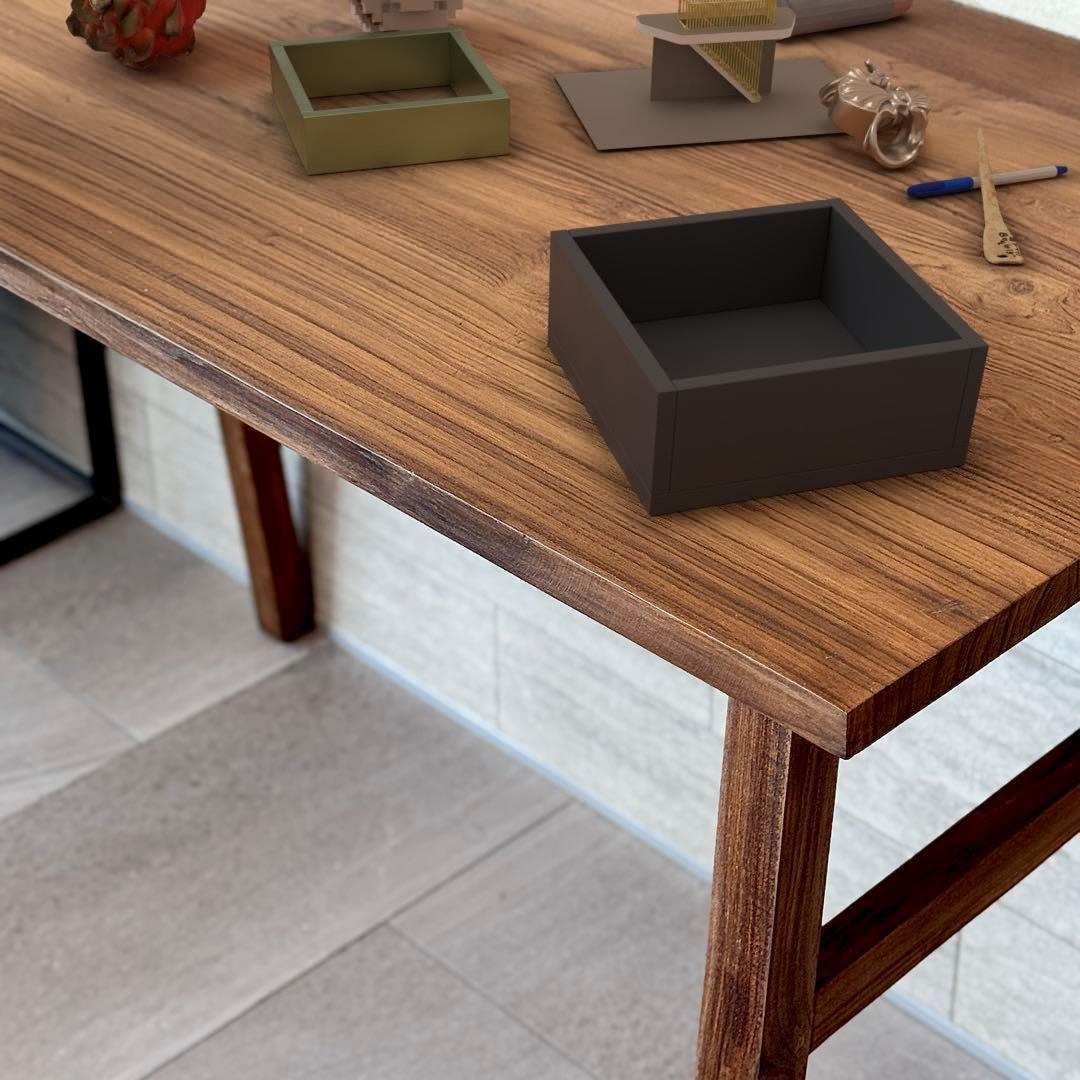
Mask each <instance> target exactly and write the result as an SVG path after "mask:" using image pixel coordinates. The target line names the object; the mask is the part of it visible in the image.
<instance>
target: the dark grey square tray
mask: <svg viewBox="0 0 1080 1080" xmlns="http://www.w3.org/2000/svg"><path fill="white" fill-rule="evenodd" d="M549 235H550V236H549V274H548V275H549V277H548V311H547V313H548V314H547V346H548V347H549V349H550V351H551V352H552V354H553V357H554V358H555V360H556V361H557V363H558V365H559V366H560V368H561V370H562V371H563V373H564V375H565V376H566V378H567V380H568V381H569V383H570V385H571V386H572V388H573V389H574V391H575V393H576V395H577V396H578V398H579V399H580V400H579V401H581V404H582V405H583V407H584V408H585V410H586V411H587V413H588V415H589V417H590V418H591V420H592V421H593V423H594V425H595V427H596V428H597V430H598V432H599V434H600V435H601V436H602V438H603V440H604V441H605V443H606V445H607V447H608V449H609V450H610V452H611V454H612V456H613V457H614V458H615V460H616V462H617V464H618V465H619V467H620V468H621V470H622V472H623V473H624V475H625V477H626V479H627V481H628V482H629V483H630V486H631V487H632V489H633V490H634V493H635V494H636V495H637V497H638V499H639V500H640V502H641V504H642V505H643V507H644V509H645V510H646V512H647V514H648V515H649V516H650V517H652V516H656V515H657V516H658V515H664V514H670V513H675V512H681V511H688V510H696V509H701V508H707V507H713V506H720V505H726V504H733V503H738V502H743V501H749V500H756V499H763V498H768V497H775V496H780V495H787V494H793V493H799V492H805V491H811V490H818V489H825V488H830V487H831V488H832V487H837V486H842V485H849V484H854V483H861V482H867V481H874V480H880V479H886V478H892V477H898V476H899V477H900V476H904V475H910V474H916V473H923V472H929V471H935V470H941V469H947V468H953V467H954V468H955V467H959V466H960V467H961V466H965V465H966V461H967V456H968V451H969V445H970V440H971V436H972V432H973V426H974V422H975V417H976V411H977V408H978V403H979V402H978V401H979V397H980V392H981V387H982V383H983V379H984V374H985V369H986V363H987V358H988V354H989V348H990V345H989V343H987V341H986V340H985V339H984V338H983V337H982V336H981V335H980V334H979V333H978V332H976V330H975V329H973V328H972V327H971V325H970V324H968V323H967V322H966V321H965V319H964V318H962V316H960V315H959V314H958V312H956V311H955V310H954V309H953V308H952V307H951V305H949V304H948V303H947V302H946V300H944V299H943V297H941V296H940V295H939V294H938V293H937V292H936V291H935V290H934V289H933V288H932V286H930V285H929V284H928V283H927V282H926V281H925V280H924V279H923V278H922V277H921V276H920V275H919V274H918V273H917V272H916V271H915V270H914V269H913V268H912V267H911V266H910V265H909V264H908V263H907V262H906V261H905V260H904V259H903V258H902V257H901V256H900V255H899V254H898V253H897V252H896V251H895V250H894V249H893V248H891V246H890V245H889V244H888V243H887V242H886V241H884V239H883V238H882V237H881V236H880V235H879V234H878V233H877V232H876V231H875V230H874V229H873V228H872V227H871V226H869V224H868V223H866V221H864V219H863V218H862V217H860V215H859V214H858V213H856V212H855V210H854V209H852V208H851V206H849V205H848V203H846V201H844V200H843V199H842V198H841V197H831V198H826V199H818V200H809V201H808V200H807V201H799V202H791V203H783V204H774V205H765V206H758V207H747V208H740V209H732V210H731V209H730V210H721V211H714V212H706V213H698V214H687V215H681V216H680V215H679V216H671V217H663V218H655V219H654V218H653V219H645V220H638V221H637V220H636V221H630V222H619V223H612V224H601V225H593V226H586V227H578V228H577V227H576V228H568V229H565V228H564V229H557V230H551V231H550V233H549Z"/></svg>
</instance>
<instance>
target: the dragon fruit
mask: <svg viewBox="0 0 1080 1080" xmlns="http://www.w3.org/2000/svg"><path fill="white" fill-rule="evenodd" d="M70 8H71V12H70V14H69V15H68V16H67V17H66V19H65V21H64V22H65V24H66V26H67V27H66V28H67V30H68V31H69V33H70V34H71V35H72V36H73V37H77V38H78V37H79V38H82V39H84V40H85V45H87V46H88V47H89V48H90V50H92V51H94V52H98V53H110V56H112V58H113V59H114V60H115V61H116V62H117V63H118V64H119V65H123V66H125V67H130V68H132V69H136V70H137V71H139V70H140V71H142V70H146V69H148V68H149V67H150V66H152V65H153V64H154V63H155V61H156V58H157V57H158V55H165V56H167V57H169V58H176V57H180V56H182V55H184V57H185V58H186V57H189V56H190V55H191V54H192V53H193V52H194V51H195V49H196V48H195V47H196V40H197V39H196V35H195V29H194V26H195V24H196V22H197V21H198V20H199V19H200V18H202V16H203V14H204V13H205V11H206V9H207V0H71V1H70ZM186 53H187V54H186ZM185 54H186V55H185Z"/></svg>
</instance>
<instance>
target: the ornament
mask: <svg viewBox="0 0 1080 1080" xmlns="http://www.w3.org/2000/svg"><path fill="white" fill-rule="evenodd" d="M863 64H864V66H865V69H866V71H867V75H866V74H865V73H864V72H863V71H862V70H861V69H860V68H859V67H857V66H851V67H849V69H848V70H849V71H848V72H847V73H846V74H845V75H843V76H841V77H839V78H837V79H836V80H833V81H831V82H829V83H827V84H826V85H824V86H823V87H821V89H820V91H819V97H820V98H821V104H822V105H824V106H826V107H827V108H828V112H827V114H828V117H829V119H830V120H831V122H832V123H833V124H835V125H836V126H837V127H838V128H840V129H841V130H842V131H844V132H843V133H846V135H849V136H851V137H852V138H855V139H857V140H860V141H862V145H861V150H862V151H863V152H866V153H867V154H868V155H869V156H870V157H871V158H872V159H874V160H875V161H876V162H877V163H878V164H879V165H880V166H882V167H884V168H887V169H901V168H903V167H906V166H908V165H909V164H911V163H912V162H913V161H915V160H916V158H918V156H919V155H920V154H921V152H922V150H923V147H924V145H925V137H926V131H927V126H928V124H929V121H930V120H929V117H928V115H929V113H930V112H931V110H932V107H933V102H932V101H931V99H929V98H928V96H927V95H926V94H920V93H919V91H916V90H914V91H910V93H909V92H908V91H906V90H905V89H904V87H902V86H898V85H896V84H895V83H893V82H892V80H891V79H892V78H890V77H888V76H885V75H886V74H885V72H884V71H883V70H882V69H880V68H879V67H878V65H877V64H876V61H874V60H873V59H872V58H871V57H867V58H866V59H865V60H864V62H863ZM880 131H882V132H890V133H891V132H895V135H894V136H893V138H892V139H891V140H890V141H889V143H887V144H884V145H880V144H879V143H878V132H880Z"/></svg>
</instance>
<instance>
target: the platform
mask: <svg viewBox="0 0 1080 1080" xmlns="http://www.w3.org/2000/svg"><path fill="white" fill-rule="evenodd" d="M763 7H764V8H763ZM795 16H796V14H795V13H794V12H793V11H792V10H791V9H790V8H787V7H777V0H678V7H677V12H666V13H665V12H663V13H648V14H638V15H636V16H635V28H636V29H637V31H638V32H639V33H641V34H644V35H646V36H649V37H652V38H653V42H652V55H651V68H649V67H648V68H639V69H638V68H637V69H621V70H620V69H619V70H604V71H588V72H587V71H586V72H585V71H584V72H571V73H570V72H569V73H555V74H554V73H553V76H554V78H555V80H556V81H557V83H558V85H559V86H560V88H561V90H562V92H563V93H564V95H565V96H566V98H567V100H568V102H569V103H570V105H571V107H572V109H573V110H574V112H575V113H576V115H577V117H578V119H579V120H580V122H581V123H582V126H583V127H584V129H585V130H586V132H587V134H588V136H589V137H590V139H591V141H592V142H593V144H594V146H595V148H596V149H597V150H598V151H599V150H600V151H601V150H614V149H628V148H629V149H630V148H642V147H643V148H645V147H655V146H671V145H684V144H699V143H711V142H712V143H713V142H714V143H715V142H727V141H728V142H729V141H740V140H742V141H743V140H755V139H768V138H769V139H771V138H783V137H796V136H799V137H800V136H810V135H826V134H837V133H839V134H841V133H845V132H844V131H842V130H841V129H840V128H838V127H837V126H836V125H835V124H833V123H832V122H831V120H830V119H829V117H828V114H827V112H828V108H827V107H826V106H824V105H822V104H821V98H820V97H819V91H820V89H821V87H823V86H824V85H826V84H827V83H829V82H831V81H833V80H836V79H838V77H837V76H836V75H834V73H832V71H831V70H830V69H829V68H828V67H827V66H826V64H824V62H822V61H821V60H820V59H819V58H818V57H814V58H813V57H812V58H795V59H783V60H782V59H781V60H780V59H779V60H775V57H776V46H777V41H776V39H782V38H784V39H786V38H790V37H792V36H791V33H792V30H793V27H794V24H795ZM782 40H783V39H782Z"/></svg>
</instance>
